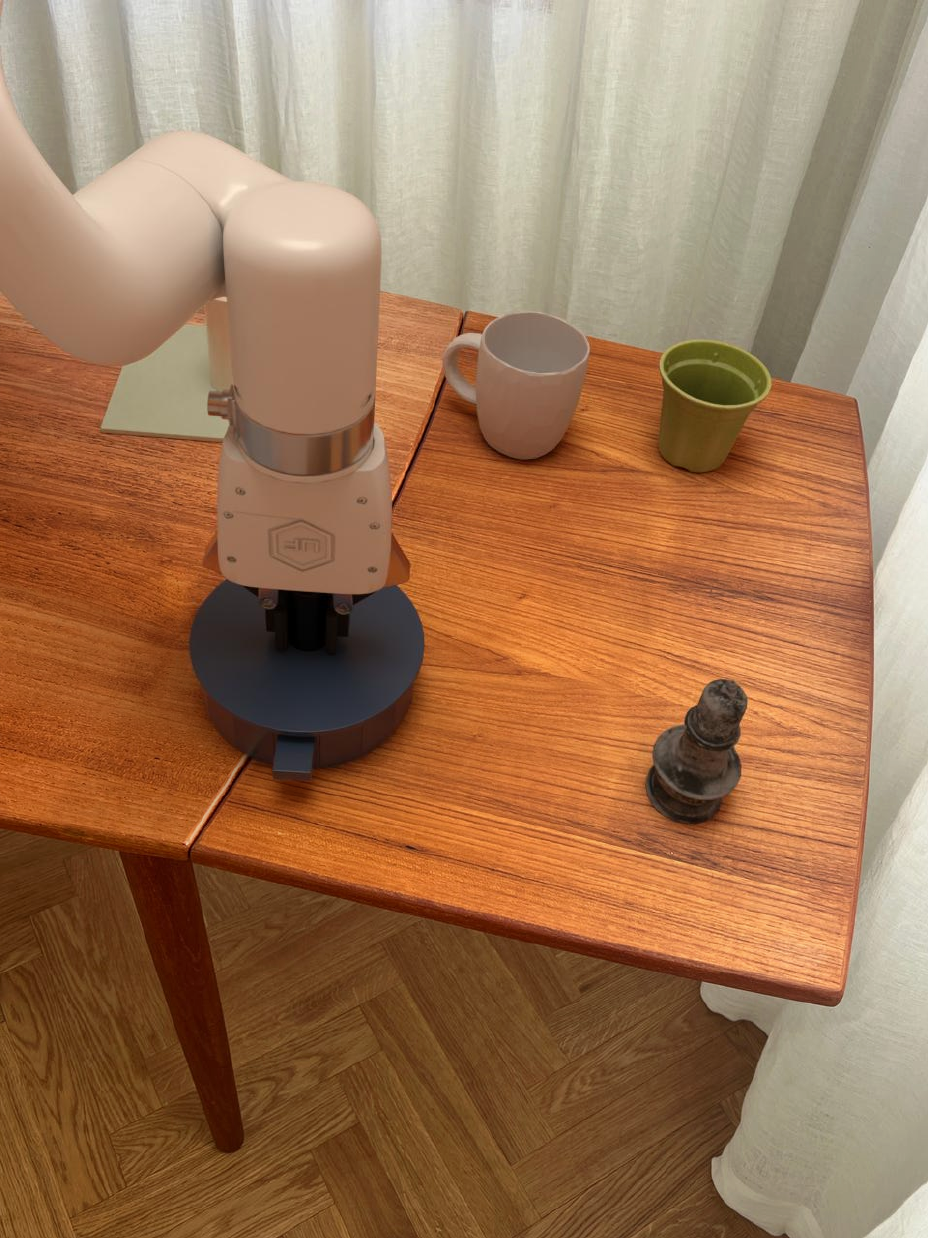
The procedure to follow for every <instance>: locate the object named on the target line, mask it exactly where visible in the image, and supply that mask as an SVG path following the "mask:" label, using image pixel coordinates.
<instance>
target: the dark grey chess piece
mask: <svg viewBox="0 0 928 1238" xmlns="http://www.w3.org/2000/svg"><path fill="white" fill-rule="evenodd" d="M748 701H749V700H748V696H747V694H746V692H745V691H744V689H743V687H741V686H740V685H739V684H738V683H737V682H735V680H733V679H727V678H718V679H713V680H711V681H710V682H708V683H707V684H706V685H705V686H704V688H703V689H702V692H701V694H700V697H699V699H698V701H697V703H696V705H693V706H691V708H690V709H689V710H688V711H686V714H685V716H684V722H683V724H679V725H673V726H672V727H670V728H667V729H666V730H664V731H662V732H661V734H660V735H658V737H657V738H656V740H655V742H654V745H653V747H652V762H653V765H652V766H651V767H650V769H649V771H648V773H647V774H646V777H645V784H644V786H645V792H646V796H647V798H648V799H649V802H650V804H651V805H652V806H653V807H654V809H656V811H657V812H659V813H660V814H661V815H662V816H664V817H665V818H667V819H669V820H671V821H673V822H675V823H679V824H684V825H699V824H703V823H706V822H708V821H710V820H712V819H713V818H714V817H715V816H716V815H717V814H718V813H719V812H720V809H721V806H722V805H723V799H724V797H725V796H727V795H729V794H731V793H732V792H733V791H734V790H735V788H736V787H738V784H739V782H740V781H741V777H742V768H743V767H742V763H741V759H740V755H739V754H738V752H737V750H736V749H735V746H736V745H737V744H738V743H739V741H740V739H741V733H742V729H741V725H740V724H741V722H742V720H743V718H744V716H745V713H746V711H747V709H748Z"/></svg>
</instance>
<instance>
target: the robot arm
mask: <svg viewBox="0 0 928 1238" xmlns="http://www.w3.org/2000/svg"><path fill="white" fill-rule="evenodd" d="M4 3H5V0H0V28H1V26H2V14H3V8H4ZM2 59H3V57H2V49H1V46H0V293H1V294H2V295H3V296H4V297H5V298H6V300H8V303H10V304H11V305H12V307H13V308H14V309H15V310H16V311H17V312H18V313H19V314H20V315H21V316H22V317H23V318H24V319H25V320H26V321H27V322H29V324H30V325H31V326H32V327H33V328H34V329H35V330H36V331H38V332H39V334H41V335H42V336H43V337H45V338H46V339H47V340H48V341H49V342H51V343H52V344H53V345H55V347H57V348H59V349H61V350H62V351H64V352H65V353H66V354H68V355H70V356H71V357H74V358H76V359H78V360H80V361H83V362H85V363H88V364H91V365H94V366H95V365H96V366H100V367H107V368H109V367H122V366H125V365H128V364H131V363H134V362H137V361H139V360H142V359H143V358H145V357H147V356H149V355H150V354H152V353H153V352H154V351H155V350H157V349H158V348H159V347H160V346H161V345H163V344H164V343H165V342H166V341H167V340H168V339H169V338H171V337H172V336H173V335H174V334H175V333H176V332H177V331H178V330H179V329H180V328H181V327H182V326H183V325H184V324H187V323H188V322H189V321H190V320H191V319H192V318H193V317H194V316H195V315H196V314H197V313H198V312H199V311H200V310H201V309H202V308H204V305H205V304H206V303H207V302H208V301H211V300H214V299H217V298H220V297H227V309H228V323H229V336H230V350H231V364H232V377H233V385H231V387H230V390H223V392H216V391H209V394H208V400H207V411H208V415H210V416H221V417H222V419H226V420H229V423H230V425H229V427H228V429H227V432H226V434H225V436H224V439H223V442H221V447H220V452H219V462H218V469H217V488H216V531H215V532H214V534H213V535H212V537H211V538H210V540H209V542H208V543H207V545H206V547H205V550H204V554H203V558H202V561H201V562H202V563H201V564H202V566H203V567H204V568H206V569H208V570H209V571H212V572H215V573H217V574H221V575H222V576H223V578H225V580H226V579H228V580H229V581H231V582H234V583H236V584H239V585H241V586H243V587H244V588H245V589H247V590H248V591H250V592H251V593H253V594H254V595H255V596H257V597H258V598H259V599H258V602H259V605H260V606H261V607H262V608H264V609H265V618H266V631H267V632H275V642H276V651H284V649H287V647H288V641H289V624H288V596H287V590H293V591H307V592H322V593H329V594H328V602H327V610H326V652H328V654H332V655H336V653H337V644H338V637H348V634H349V623H350V613H351V612H352V611H353V605H355V604H357V603H358V602H360V601H362V600H363V599H365V598H367V597H369V596H370V595H372V594H374V593H375V592H376V591H378V590H380V589H382V588H383V589H384V588H387V587H391V586H395V585H397V586H399V585H402V584H406V583H408V582H409V580H410V577H411V561H410V560H409V558H408V557H407V555H406V553H405V552H404V550H403V548H402V547H401V545H400V543H399V541H398V540H397V538H396V537H395V534H394V533H393V532H392V531H393V496H392V495H393V494H392V479H391V467H390V461H389V454H388V450H387V444H386V440H385V436H384V435H385V434H384V433H383V430H382V429H381V427H380V425H379V424H378V423H377V422H375V414H376V413H375V412H376V393H377V392H376V389H377V370H378V369H377V368H378V347H379V346H378V345H379V325H380V323H379V321H380V301H381V299H380V297H381V280H382V279H381V278H382V276H381V275H382V257H383V256H382V254H383V253H382V236H381V235H382V234H381V232H380V227H379V224H378V221H377V220H376V218H375V216H374V215H373V213H372V211H371V210H370V209H369V207H368V206H367V205H366V204H365V203H364V202H363V201H361V200H360V199H359V198H357V197H356V196H354V195H352V194H351V193H349V192H348V191H345V190H343V189H341V188H338V187H336V186H333V185H329V184H326V183H321V182H314V181H304V180H293V179H291V178H289V177H287V176H285V175H283V174H282V173H279V172H278V171H276V170H274V169H273V168H271V167H268V166H267V165H265V164H263V163H262V162H260V161H258V160H257V159H255V158H253V157H252V156H250V155H249V154H246V153H244V152H243V151H242V150H239V149H238V148H236V147H235V146H232V144H229V143H227V142H225V141H223V140H221V139H219V138H216V137H214V136H212V135H210V134H207V133H204V132H199V131H194V130H185V129H182V130H172V131H168V132H166V133H162V134H159V135H158V136H156V137H154V138H153V139H151V140H149V141H148V142H146V143H145V144H143V145H141V147H139V148H138V149H136V150H135V151H134V152H132V153H131V154H129V155H128V156H126V157H125V158H124V159H123V160H121V161H120V162H119V163H117V164H115V165H113V166H111V167H110V168H108V169H107V170H105V171H104V172H102V173H101V174H100V175H98V176H97V177H95V178H94V179H93V180H91V181H90V182H89V183H87V184H86V185H84V186H83V187H81V188H80V189H79V190H78V191H76V192H75V193H73V194H72V193H71V192H70V191H69V189H68V187H66V185H65V184H64V183H63V182H62V181H61V179H60V178H59V177H58V176H57V174H56V173H55V172H54V170H53V169H52V167H51V166H50V164H48V162H47V161H46V160H45V158H44V157H43V155H42V154H41V152H40V150H39V148H38V147H37V145H35V143H34V142H33V140H32V138H31V137H30V135H29V133H28V131H27V130H26V127H25V125H24V123H23V121H22V120H21V118H20V115H19V114H18V111H17V108H16V106H15V103H14V100H13V98H12V96H11V93H10V90H9V88H8V84H7V79H6V75H5V70H4V67H3V66H4V65H3V60H2Z"/></svg>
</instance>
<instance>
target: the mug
mask: <svg viewBox="0 0 928 1238" xmlns="http://www.w3.org/2000/svg"><path fill="white" fill-rule="evenodd" d="M462 349H472V350H476V351H478V355H477V365H476V374H475V386H474V385H473V384H472V383H471V382H470V381H468V380H467V379H466V378H465V377H464V375H463V374H462V371H461V370H460V367H459V363H458V354H459V352H460V351H462ZM590 351H591V348H590V343H589V341H588V339H587V336H585V334H584V333H583V332H582V331H581V330H580V329H579V328H578V327H577V326H575V325H574V324H572V322H571V323H570V322H569V321H568V320H566V319H565V318H562V317H559V316H557V315H553V314H550V313H546V312H543V311H534V310H517V311H514V312H509V313H506V314H502V315H499V316H498V317H497V318H495V319H494V320H491V321H490V322H489V323H488V324H487V325H486V326H485V328H484V330H483V332H482V333H478V332H477V333H476V332H467V333H463V334H460V335H458V336H456V337H454V338H453V339H452V341H451V342H450V343H449V344H448V345H446V348H445V351H444V353H443V356H442V370H443V374H444V378H445V379H446V382H447V383H448V385H449V386H450V388H451V389H452V391H453V392H454V393H455V394H456V395H458V397H460V398H461V399H462V400H464V401H466V402H468V403H471V404H473V405H475V406H476V415H477V421H478V424H479V430H480V432H481V433H482V437H483V438H484V439H485V442H487V444H488V445H489V446H490V447H491V448H492V449H494V450H495V451H496V452H498V453H499V454H502V455H504V456H507V457H510V458H512V459H518V460H531V459H532V460H535V459H538V458H540V457H543V456H545V455H547V454H548V453H551V451H553V450H554V449H555V447H556V446H557V445H558V444H559V443H560V442H561V440H562V439H563V438H564V436H565V433H566V432H567V430H568V428H569V426H570V425H571V422H572V420H573V418H574V415H575V413H576V410H577V408H578V405H579V402H580V398H581V395H582V392H583V387H584V383H585V380H586V376H587V373H588V372H587V371H588V364H589V359H590V354H591V352H590Z"/></svg>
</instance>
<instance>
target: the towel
mask: <svg viewBox="0 0 928 1238" xmlns="http://www.w3.org/2000/svg"><path fill="white" fill-rule="evenodd" d="M209 391H216V392H219V391H218V390H216V389H215V388H214V387H213V386H212V384H211V381H210V369H209V358H208V347H207V336H206V325H205V324H204V325H203V324H193V323H192V324H191V323H185V324H184V325H183V326H182V327H181V328H180V329H179V330H178V331H177V332H176V333H175V334H174V335H173V336H172V337H171V338H169V339H168V340H167V341H166V342H165V343H164V344H163V345H161V346H160V347H159V348H158V349H157V350H155V351H154V352H153V353H152V354H150V355H149V356H147V357H145V358H143V359H142V360H139V361H137V362H134V363H131V364H128V365H125V366H121V370H120V372H119V375H118V378H117V380H116V383H115V386H114V389H113V391H112V394H111V396H110V400H109V403H108V405H107V409H106V411H105V414H104V417H103V419H102V422H101V425H100V427H99V429H100V433H102V434H112V435H113V434H114V435H126V436H140V437H151V438H164V439H175V440H188V441H198V442H199V441H201V442H211V443H223V439H224V436H225V434H226V432H227V429H228V427H229V425H230V423H229V420H226V419H222V417H221V416H210V415H208V411H207V400H208V394H209Z"/></svg>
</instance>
